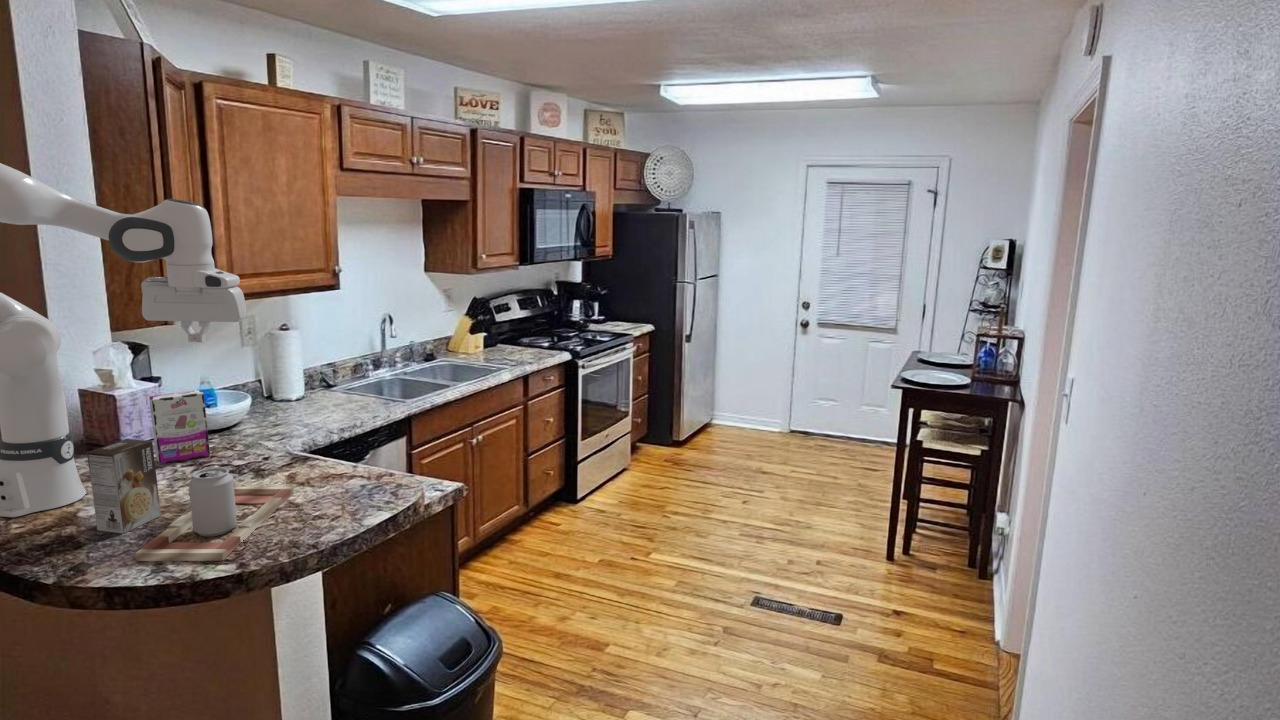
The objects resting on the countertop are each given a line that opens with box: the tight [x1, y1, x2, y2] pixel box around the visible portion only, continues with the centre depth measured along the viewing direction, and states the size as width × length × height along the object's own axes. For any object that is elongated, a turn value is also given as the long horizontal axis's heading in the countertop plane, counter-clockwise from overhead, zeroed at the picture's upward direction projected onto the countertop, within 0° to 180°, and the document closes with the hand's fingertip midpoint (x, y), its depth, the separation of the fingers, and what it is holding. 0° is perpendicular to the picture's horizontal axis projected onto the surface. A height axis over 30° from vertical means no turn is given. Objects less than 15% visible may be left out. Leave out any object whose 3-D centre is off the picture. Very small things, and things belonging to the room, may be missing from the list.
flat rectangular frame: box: [134, 485, 295, 562], centre depth 153 cm, size 15×33×2 cm, turn 4°
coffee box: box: [86, 438, 162, 534], centre depth 150 cm, size 9×6×16 cm
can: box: [188, 467, 238, 537], centre depth 148 cm, size 8×8×12 cm
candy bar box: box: [148, 389, 211, 465], centre depth 188 cm, size 11×5×16 cm, turn 131°
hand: (197, 341), depth 165 cm, fingers closed
